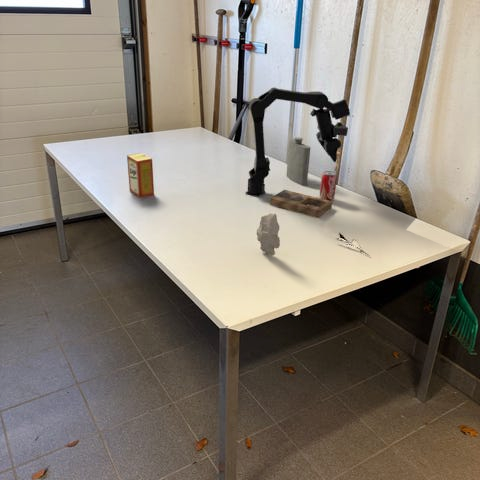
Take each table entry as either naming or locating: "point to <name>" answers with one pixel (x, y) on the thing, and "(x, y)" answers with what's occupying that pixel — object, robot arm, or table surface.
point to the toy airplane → (349, 242)
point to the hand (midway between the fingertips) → (332, 158)
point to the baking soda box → (140, 175)
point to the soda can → (328, 185)
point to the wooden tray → (301, 203)
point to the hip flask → (298, 161)
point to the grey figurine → (268, 233)
